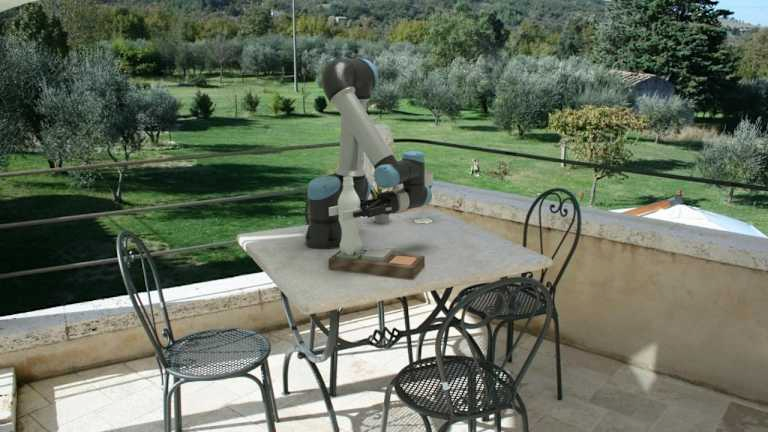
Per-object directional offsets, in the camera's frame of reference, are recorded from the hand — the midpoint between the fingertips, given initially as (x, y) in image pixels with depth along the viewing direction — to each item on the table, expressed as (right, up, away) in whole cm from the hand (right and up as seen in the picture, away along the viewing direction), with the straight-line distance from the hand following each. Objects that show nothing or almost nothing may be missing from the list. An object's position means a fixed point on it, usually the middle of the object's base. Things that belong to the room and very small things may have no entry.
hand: (336, 214), depth 192 cm
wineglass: (+31, -3, +57) cm, 65 cm away
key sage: (+4, -15, +7) cm, 17 cm away
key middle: (+12, -15, +4) cm, 20 cm away
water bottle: (+4, -13, +7) cm, 15 cm away
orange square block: (+21, -17, +1) cm, 27 cm away
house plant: (+13, -3, +57) cm, 59 cm away
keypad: (+13, -17, +5) cm, 22 cm away
